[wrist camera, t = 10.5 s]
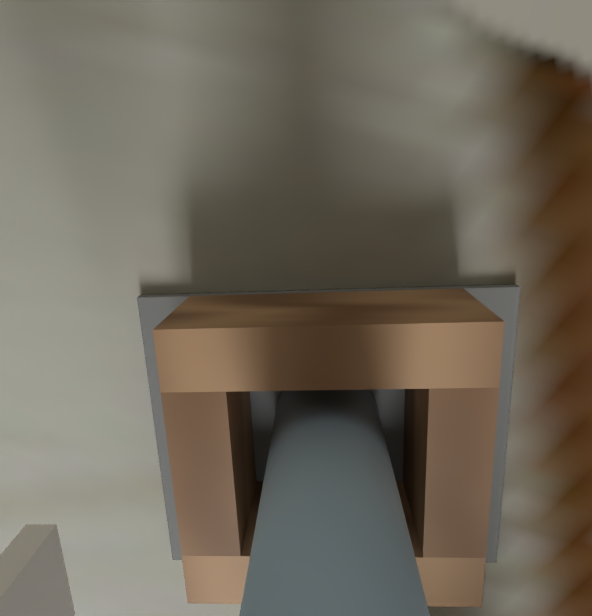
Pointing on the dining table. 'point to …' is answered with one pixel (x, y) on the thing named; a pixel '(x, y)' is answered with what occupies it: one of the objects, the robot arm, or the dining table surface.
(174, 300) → the mat
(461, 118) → the dining table surface
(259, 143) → the dining table surface
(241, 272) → the dining table surface
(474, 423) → the wooden square frame
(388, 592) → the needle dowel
